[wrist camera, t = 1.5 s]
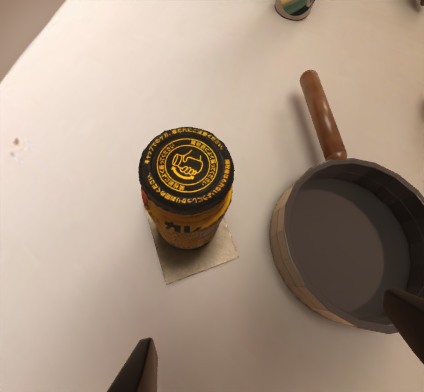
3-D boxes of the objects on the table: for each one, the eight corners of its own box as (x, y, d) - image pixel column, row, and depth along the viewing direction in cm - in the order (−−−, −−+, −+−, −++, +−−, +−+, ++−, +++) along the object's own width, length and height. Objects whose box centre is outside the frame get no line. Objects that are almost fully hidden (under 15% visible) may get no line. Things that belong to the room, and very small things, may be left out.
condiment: (209, 182, 25) (224, 101, 14) (238, 257, 22) (285, 233, 11) (143, 202, 24) (100, 130, 12) (166, 284, 21) (138, 288, 10)
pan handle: (341, 168, 24) (354, 159, 22) (324, 170, 24) (335, 160, 22) (310, 79, 28) (318, 65, 27) (295, 80, 28) (302, 65, 26)
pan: (436, 310, 22) (486, 316, 19) (289, 335, 20) (311, 348, 17) (379, 171, 27) (408, 153, 24) (256, 181, 26) (268, 164, 22)
